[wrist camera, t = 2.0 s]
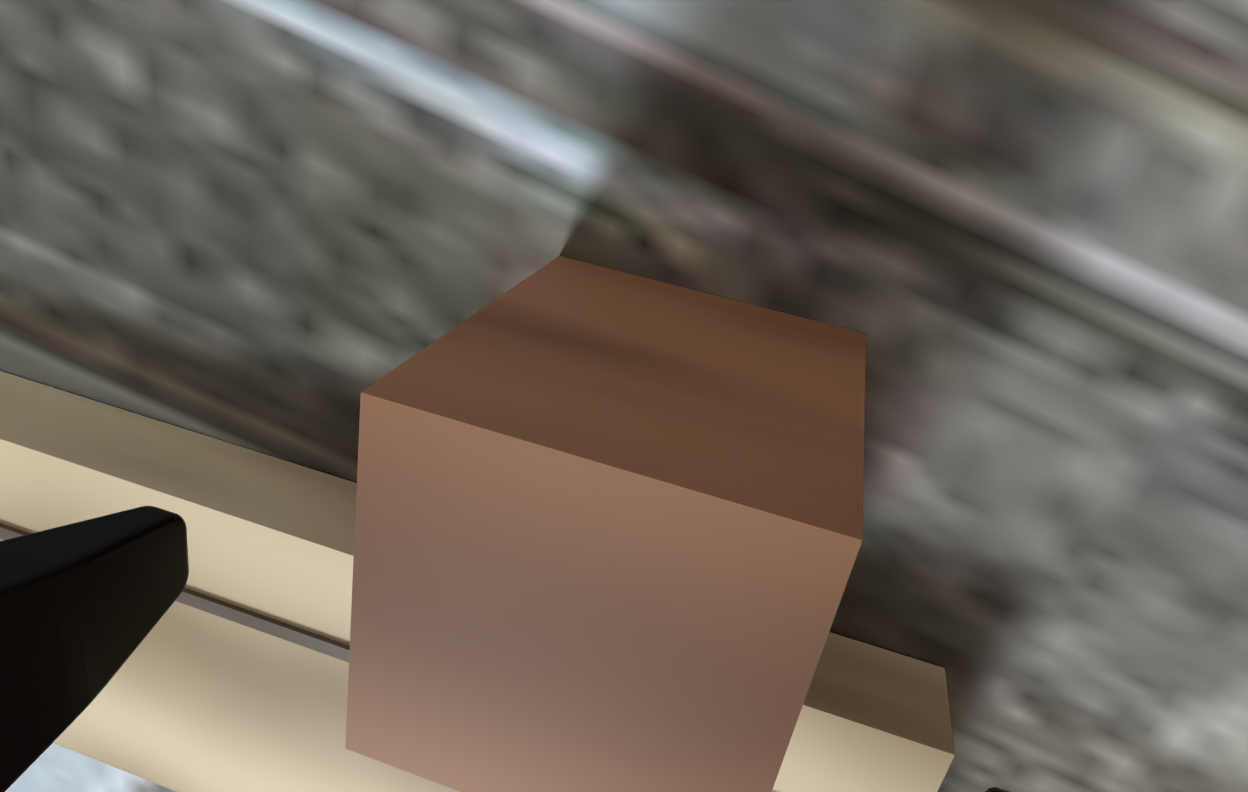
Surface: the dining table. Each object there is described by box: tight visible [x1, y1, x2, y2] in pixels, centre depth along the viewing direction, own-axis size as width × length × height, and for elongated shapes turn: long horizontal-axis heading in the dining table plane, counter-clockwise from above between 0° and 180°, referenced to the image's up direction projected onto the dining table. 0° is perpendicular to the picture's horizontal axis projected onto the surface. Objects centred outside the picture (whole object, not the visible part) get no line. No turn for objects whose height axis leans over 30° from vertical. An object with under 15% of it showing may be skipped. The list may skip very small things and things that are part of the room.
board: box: [0, 371, 955, 792], centre depth 17 cm, size 8×25×2 cm, turn 80°
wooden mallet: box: [345, 256, 866, 792], centre depth 13 cm, size 12×5×6 cm, turn 170°
